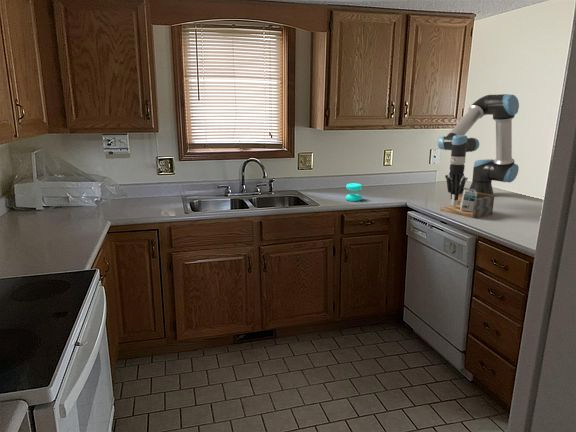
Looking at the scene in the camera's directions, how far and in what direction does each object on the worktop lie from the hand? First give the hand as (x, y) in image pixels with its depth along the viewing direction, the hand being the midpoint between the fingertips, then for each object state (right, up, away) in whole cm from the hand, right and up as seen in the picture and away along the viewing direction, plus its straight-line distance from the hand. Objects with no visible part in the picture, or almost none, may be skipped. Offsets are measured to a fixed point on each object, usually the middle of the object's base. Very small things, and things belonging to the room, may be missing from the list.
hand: (453, 205), depth 249 cm
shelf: (+5, -4, -4) cm, 7 cm away
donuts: (-52, +4, +29) cm, 60 cm away
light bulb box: (+5, -2, -4) cm, 7 cm away
